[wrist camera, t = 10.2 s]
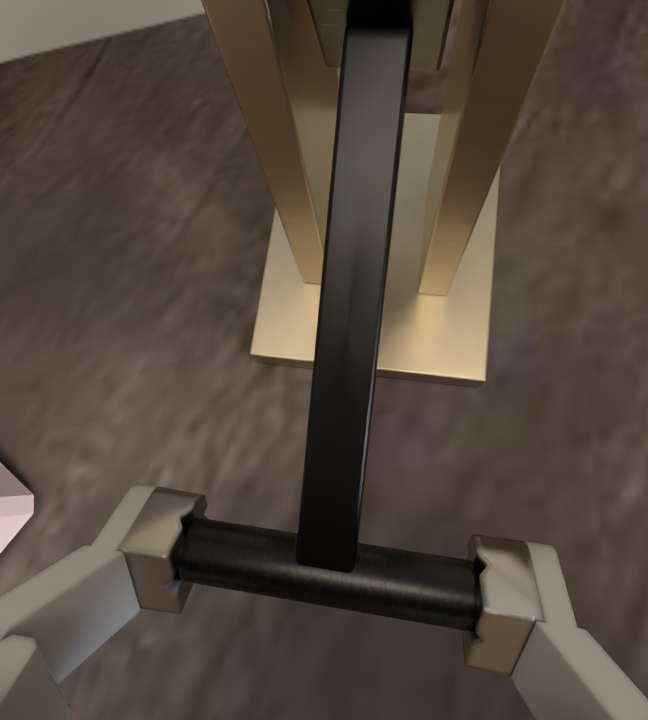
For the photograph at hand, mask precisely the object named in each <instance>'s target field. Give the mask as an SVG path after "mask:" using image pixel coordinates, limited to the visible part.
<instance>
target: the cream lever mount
mask: <svg viewBox="0 0 648 720" xmlns="http://www.w3.org/2000/svg"><path fill="white" fill-rule="evenodd" d="M201 1H202V4H203V7H204V9H205V12H206V15H207V18H208V21H209V23H210V26H211V29H212V32H213V34H214V37H215V40H216V43H217V45H218V48H219V51H220V54H221V56H222V59H223V62H224V65H225V67H226V70H227V73H228V76H229V78H230V81H231V84H232V87H233V89H234V92H235V95H236V98H237V101H238V103H239V106H240V109H241V112H242V114H243V117H244V120H245V123H246V125H247V128H248V131H249V134H250V136H251V139H252V142H253V145H254V147H255V150H256V153H257V156H258V158H259V161H260V164H261V167H262V169H263V172H264V175H265V178H266V180H267V183H268V186H269V189H270V192H271V194H272V197H273V200H274V203H275V209H274V215H273V221H272V226H271V232H270V238H269V244H268V250H267V255H266V261H265V267H264V273H263V278H262V284H261V290H260V296H259V302H258V307H257V313H256V319H255V325H254V331H253V336H252V342H251V348H250V356H251V357H252V358H253V359H254V360H255V361H256V362H258V363H266V364H275V365H283V366H292V367H301V368H310V369H313V364H314V353H315V343H316V332H317V321H318V310H319V299H320V288H321V278H322V267H323V256H324V245H325V234H326V223H327V212H328V202H329V191H330V180H331V169H332V158H333V147H334V137H335V126H336V115H337V104H338V93H339V91H338V80H337V69H336V67H327V66H326V65H325V62H324V58H323V55H322V51H321V48H320V44H319V41H318V37H317V34H316V30H315V27H314V23H313V20H312V16H311V13H310V9H309V6H308V2H307V0H201ZM567 1H569V0H463V1H462V6H461V11H460V17H459V22H458V27H457V33H456V38H455V43H454V48H453V54H452V59H451V64H450V70H449V75H448V80H447V86H446V91H445V96H444V102H443V107H442V112H441V115H440V114H419V113H405V119H404V128H403V137H402V146H401V156H400V165H399V174H398V183H397V192H396V201H395V210H394V219H393V229H392V238H391V247H390V256H389V265H388V274H387V283H386V292H385V302H384V311H383V320H382V329H381V338H380V347H379V356H378V365H377V374H376V376H380V377H388V378H397V379H406V380H415V381H423V382H432V383H441V384H450V385H458V386H467V387H476V388H477V387H479V386H481V385H482V384H483V383H484V382H485V381H486V375H487V360H488V345H489V330H490V315H491V300H492V285H493V270H494V255H495V240H496V225H497V210H498V195H499V180H500V165H501V161H502V159H503V156H504V154H505V151H506V149H507V146H508V144H509V141H510V139H511V137H512V134H513V132H514V129H515V127H516V124H517V122H518V119H519V117H520V115H521V112H522V110H523V107H524V105H525V102H526V100H527V97H528V95H529V93H530V90H531V88H532V85H533V83H534V80H535V78H536V75H537V73H538V71H539V68H540V66H541V63H542V61H543V58H544V56H545V53H546V51H547V49H548V46H549V44H550V41H551V39H552V36H553V34H554V31H555V29H556V27H557V24H558V22H559V19H560V17H561V14H562V12H563V10H564V7H565V5H566V2H567Z"/></svg>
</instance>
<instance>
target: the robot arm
mask: <svg viewBox="0 0 648 720" xmlns="http://www.w3.org/2000/svg"><path fill="white" fill-rule="evenodd" d="M206 508H207V502H206V497H205V495H202V494H196V493H190V492H185V491H179V490H174V489H168V488H162V487H156V486H150V485H144V484H138V483H136V484H135V485H133V486H132V487H131V488H130V489H129V490H128V491H127V493H126V494H125V496H124V497H123V499H122V500H121V502H120V503H119V505H118V506H117V508H116V509H115V511H114V512H113V514H112V515H111V517H110V518H109V520H108V521H107V523H106V524H105V526H104V527H103V529H102V530H101V532H100V533H99V535H98V536H97V538H96V539H95V541H94V542H93V544H92V545H91V546H87V545H84V546H82V547H80V548H79V549H77V550H75V551H74V552H72V553H71V554H69V555H67V556H66V557H64V558H62V559H61V560H59V561H58V562H56V563H54V564H53V565H51V566H49V567H48V568H46V569H44V570H43V571H41V572H40V573H38V574H36V575H35V576H33V577H31V578H30V579H28V580H27V581H25V582H23V583H22V584H20V585H18V586H17V587H15V588H14V589H12V590H10V591H9V592H7V593H5V594H4V595H2V596H1V597H0V720H68V719H69V717H70V715H71V708H70V704H69V702H68V700H67V699H66V697H65V695H64V693H63V691H62V689H61V688H60V686H59V683H60V682H61V681H62V680H64V679H65V678H66V677H67V676H68V675H69V674H70V673H71V672H72V671H74V670H75V669H76V668H77V667H78V666H79V665H80V664H81V663H83V662H84V661H85V660H86V659H87V658H88V657H89V656H90V655H92V654H93V653H94V652H95V651H96V650H97V649H98V648H99V647H100V646H102V645H103V644H104V643H105V642H106V641H107V640H108V639H109V638H111V637H112V636H113V635H114V634H115V633H116V632H117V631H118V630H120V629H121V628H122V627H123V626H124V625H125V624H126V623H127V622H128V621H130V620H131V619H132V618H133V617H134V616H135V615H136V614H137V613H139V612H140V608H144V609H150V610H157V611H163V612H170V613H177V614H181V611H182V609H183V607H184V605H185V602H186V600H187V598H188V595H189V593H190V591H191V588H192V586H193V583H190V582H185V581H183V580H182V579H181V578H180V576H179V566H180V557H181V551H182V547H183V543H184V540H185V538H184V537H185V534H186V532H187V530H188V528H189V526H190V524H191V523H192V522H193V521H195V520H196V519H197V518H203V519H207V517H206V516H205V515H204V512H205V510H206ZM468 555H469V557H468V558H466V559H465V560H470V561H472V563H473V565H474V566H475V569H476V574H477V585H476V605H475V614H474V617H475V622H474V625H473V627H472V629H471V630H469V631H465V630H462V638H463V650H464V663H465V666H468V667H472V668H477V669H482V670H487V671H491V672H496V673H501V674H506V675H510V676H511V680H512V681H513V683H514V685H515V686H516V688H517V690H518V691H519V693H520V695H521V696H522V698H523V700H524V701H525V703H526V705H527V706H528V708H529V710H530V711H531V713H532V715H533V716H534V718H535V720H648V699H647V698H646V697H645V696H644V695H643V694H642V693H641V691H640V690H639V689H638V688H637V687H636V686H635V685H634V683H633V682H632V681H631V680H630V679H629V678H628V677H627V676H626V674H625V673H624V672H623V671H622V670H621V669H620V668H619V666H618V665H617V664H616V663H615V662H614V661H613V660H612V659H611V657H610V656H609V655H608V654H607V653H606V652H605V651H604V649H603V648H602V647H601V646H600V645H599V644H598V643H597V642H596V640H595V639H594V638H593V637H592V636H591V635H590V634H589V632H588V631H587V630H585V629H580V628H577V624H576V621H575V617H574V614H573V610H572V607H571V603H570V599H569V596H568V592H567V589H566V585H565V582H564V578H563V574H562V571H561V567H560V564H559V560H558V556H557V553H556V550H555V549H554V548H553V546H550V545H543V544H536V543H530V542H523V541H520V540H512V539H505V538H498V537H490V536H483V535H475V534H473V535H472V536H471V537H470V540H469V543H468Z"/></svg>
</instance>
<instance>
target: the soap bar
mask: <svg viewBox="0 0 648 720" xmlns="http://www.w3.org/2000/svg"><path fill="white" fill-rule="evenodd" d="M33 511H34V495H33V494H32V493H31V492H30V491H29V490H28V489H27V488H26V487H25V486H24V485H23V484H22V483H21V482H20V481H19V480H18V479H17V478H16V477H15V476H14V475H13V474H12V473H11V472H10V471H9V470H8V469H7V468H6V467H5V466H4V465H3V464H2V463H0V553H1V552H2V551H3V549H4V548H5V547H6V546H7V545H8V543H9V542H10V541H11V540H12V539H13V537H14V536H15V535H16V534H17V533H18V531H19V530H20V529H21V528H22V527H23V525H24V524H25V523H26V522H27V521H28V520H29V518H30V517H31V516H32V515H33Z"/></svg>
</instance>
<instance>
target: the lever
mask: <svg viewBox="0 0 648 720" xmlns="http://www.w3.org/2000/svg"><path fill="white" fill-rule="evenodd" d="M307 2H308V6H309V9H310V13H311V16H312V20H313V23H314V27H315V30H316V34H317V37H318V41H319V44H320V48H321V51H322V55H323V58H324V62H325V65H326V66H327V67H340V68H341V72H340V82H339V93H338V104H337V115H336V126H335V137H334V147H333V158H332V169H331V180H330V191H329V202H328V212H327V223H326V234H325V245H324V256H323V267H322V278H321V288H320V299H319V310H318V321H317V332H316V343H315V353H314V364H313V375H312V386H311V397H310V408H309V418H308V429H307V440H306V451H305V462H304V473H303V483H302V494H301V505H300V516H299V527H298V533H292V532H286V531H280V530H273V529H267V528H260V527H254V526H248V525H241V524H235V523H229V522H222V521H216V520H210V519H203V518H197V519H196V520H195V521H193V522H192V523H191V524H190V526H189V528H188V530H187V532H186V534H185V537H184V538H185V540H184V543H183V547H182V551H181V557H180V566H179V576H180V578H181V579H182V580H183V581H185V582H190V583H196V584H202V585H207V586H213V587H219V588H225V589H230V590H236V591H242V592H248V593H253V594H259V595H265V596H271V597H276V598H282V599H288V600H293V601H299V602H305V603H311V604H316V605H322V606H328V607H334V608H339V609H345V610H351V611H356V612H362V613H368V614H374V615H379V616H385V617H391V618H397V619H402V620H408V621H414V622H419V623H425V624H431V625H437V626H442V627H448V628H454V629H460V630H465V631H469V630H471V629H472V627H473V625H474V622H475V617H474V614H475V605H476V585H477V574H476V569H475V566H474V565H473V563H472V561H470V560H464V559H458V558H451V557H445V556H439V555H432V554H426V553H420V552H413V551H407V550H401V549H394V548H388V547H381V546H375V545H369V544H362V543H358V539H359V530H360V520H361V511H362V502H363V493H364V484H365V475H366V466H367V457H368V447H369V438H370V429H371V420H372V411H373V402H374V393H375V384H376V374H377V365H378V356H379V347H380V338H381V329H382V320H383V311H384V302H385V292H386V283H387V274H388V265H389V256H390V247H391V238H392V229H393V219H394V210H395V201H396V192H397V183H398V174H399V165H400V156H401V146H402V137H403V128H404V119H405V110H406V101H407V92H408V83H409V73H410V70H422V71H437V70H439V68H440V67H441V62H442V57H443V52H444V48H445V43H446V38H447V33H448V28H449V23H450V18H451V13H452V8H453V4H454V0H307Z"/></svg>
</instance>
